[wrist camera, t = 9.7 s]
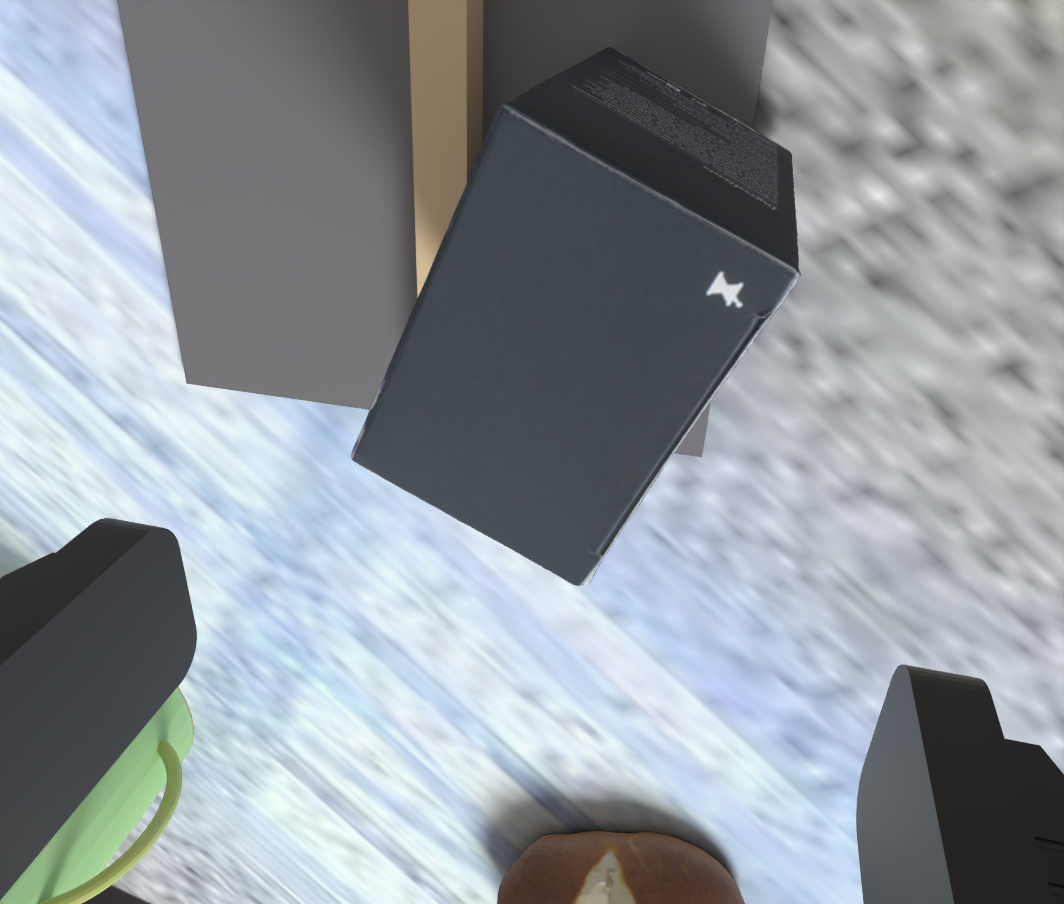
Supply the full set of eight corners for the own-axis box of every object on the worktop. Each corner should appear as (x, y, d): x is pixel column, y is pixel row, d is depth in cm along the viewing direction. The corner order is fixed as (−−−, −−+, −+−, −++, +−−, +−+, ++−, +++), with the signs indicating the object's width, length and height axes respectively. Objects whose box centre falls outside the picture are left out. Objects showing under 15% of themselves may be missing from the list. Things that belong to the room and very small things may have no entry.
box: (605, 40, 22) (498, 92, 13) (796, 150, 22) (818, 275, 13) (483, 294, 26) (338, 466, 17) (645, 385, 26) (584, 600, 18)
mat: (797, -161, 20) (800, -172, 18) (702, 451, 28) (698, 481, 26) (96, -172, 23) (45, -183, 21) (192, 379, 31) (161, 401, 29)
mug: (42, 761, 45) (-169, 995, 35) (-29, 602, 40) (-301, 821, 30) (261, 800, 42) (102, 1066, 32) (214, 634, 37) (7, 887, 27)
